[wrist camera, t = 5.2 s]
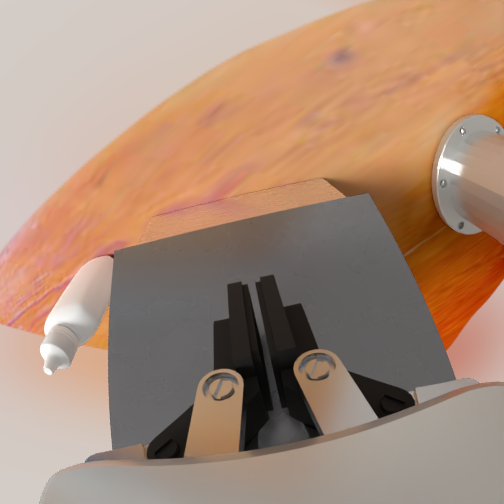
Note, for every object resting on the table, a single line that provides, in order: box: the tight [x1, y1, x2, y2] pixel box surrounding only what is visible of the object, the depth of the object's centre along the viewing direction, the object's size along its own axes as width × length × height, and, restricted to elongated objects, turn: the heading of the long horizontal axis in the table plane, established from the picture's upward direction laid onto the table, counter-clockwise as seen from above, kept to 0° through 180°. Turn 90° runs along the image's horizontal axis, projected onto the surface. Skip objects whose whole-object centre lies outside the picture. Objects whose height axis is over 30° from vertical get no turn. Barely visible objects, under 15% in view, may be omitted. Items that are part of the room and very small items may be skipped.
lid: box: [108, 193, 456, 450], centre depth 13 cm, size 15×15×1 cm
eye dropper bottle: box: [40, 255, 114, 375], centre depth 21 cm, size 4×6×12 cm
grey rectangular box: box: [137, 178, 346, 245], centre depth 24 cm, size 19×12×8 cm, turn 101°
